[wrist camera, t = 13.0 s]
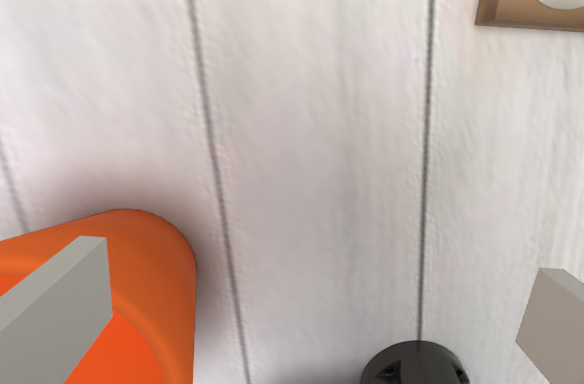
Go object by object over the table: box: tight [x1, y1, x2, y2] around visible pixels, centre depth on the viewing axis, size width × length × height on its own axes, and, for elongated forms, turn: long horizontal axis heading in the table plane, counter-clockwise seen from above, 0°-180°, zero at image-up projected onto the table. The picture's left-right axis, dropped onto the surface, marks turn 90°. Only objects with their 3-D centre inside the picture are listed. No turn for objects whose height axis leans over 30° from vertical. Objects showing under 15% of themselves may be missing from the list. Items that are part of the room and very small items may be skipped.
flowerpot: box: [0, 209, 197, 384], centre depth 38 cm, size 25×25×20 cm
